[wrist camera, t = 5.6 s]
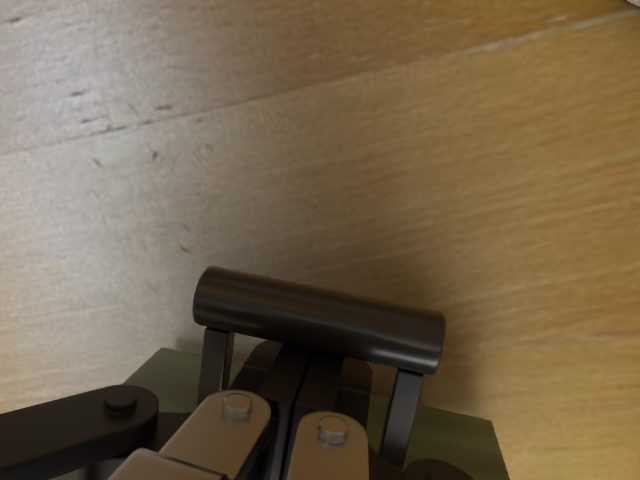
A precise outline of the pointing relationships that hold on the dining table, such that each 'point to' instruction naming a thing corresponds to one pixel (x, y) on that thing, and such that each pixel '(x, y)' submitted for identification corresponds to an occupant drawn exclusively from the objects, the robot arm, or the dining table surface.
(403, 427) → the drawer
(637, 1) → the white cup
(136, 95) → the dining table surface
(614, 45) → the dining table surface
